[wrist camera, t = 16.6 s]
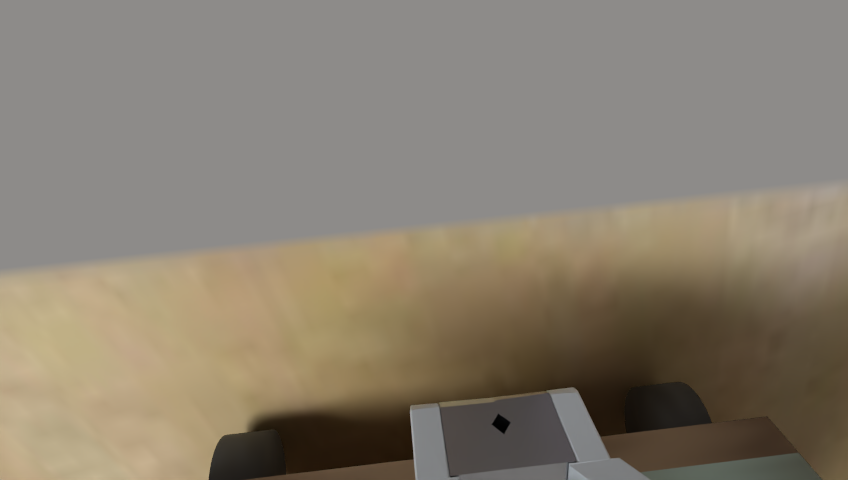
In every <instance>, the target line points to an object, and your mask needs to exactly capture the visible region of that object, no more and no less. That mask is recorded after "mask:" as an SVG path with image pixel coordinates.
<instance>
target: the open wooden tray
mask: <svg viewBox="0 0 848 480" xmlns="http://www.w3.org/2000/svg"><path fill="white" fill-rule="evenodd" d="M624 416H625V426H626V432H627V434H619V435H610V436H602V437H601V440H602V442H603V444H604V446H605V448H606V450H607V452H608V454H609V456H610V458H611V459H612V458H620V459H622V460H623V461H625V462H626V463H627V464H629V465H630V466H632V467H633V468H635V469H636V470H637V471H639V472H640V473H642V474H643V475H645V476H646V477H648V478H649V479H650V480H822V479H821V478H820V477H819V476H818V474H817V473H816V472H815V471H814V470H813V469H812V468H811V466H810V465H809V464H808V463H807V462H806V461H805V459H804V458H803V457H802V456H801V455H800V454H799V453H798V451H797V450H796V449H795V448H794V447H793V446H792V444H791V443H790V442H789V441H788V440H787V439H786V438H785V436H784V435H783V434H782V433H781V432H780V431H779V429H778V428H777V427H776V426H775V425H774V424H773V423H772V421H771V420H770V419H769V418H768V417H759V418H751V419H743V420H734V421H726V422H718V423H712V422H711V419H710V417H709V415H708V412H707V410H706V408H705V406H704V404H703V403H702V401H701V399H700V398H699V397H698V395H697V394H696V393H695V391H694V390H693V389H692V388H691V387H689V386H688V385H687V384H685V383H682V382H673V383H665V384H656V385H648V386H639V387H633V388H631V389H630V390H629V391H628V393H627V395H626V399H625V406H624ZM209 480H415V468H414V459H412V460H403V461H395V462H387V463H378V464H370V465H362V466H354V467H345V468H337V469H329V470H320V471H312V472H304V473H296V474H287V475H286V464H285V456H284V450H283V445H282V442H281V438H280V436H279V434H278V432H277V431H276V430H264V431H256V432H247V433H239V434H230V435H225V436H223V437H222V438H221V439H220V441H219V442H218V444H217V446H216V449H215V451H214V454H213V458H212V462H211V467H210V474H209Z"/></svg>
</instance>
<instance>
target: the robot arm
mask: <svg viewBox="0 0 848 480" xmlns="http://www.w3.org/2000/svg"><path fill="white" fill-rule="evenodd" d="M410 418H411V430H412V443H413V455H414V468H415V480H650V479H649V478H648V477H646V476H645V475H643V474H642V473H640V472H639V471H637V470H636V469H635V468H633V467H632V466H630V465H629V464H627V463H626V462H625V461H623V460H622V459H620V458H612V459H611V458H610V456H609V454H608V452H607V450H606V448H605V446H604V444H603V442H602V440H601V437H600V435H599V433H598V431H597V429H596V427H595V425H594V423H593V421H592V419H591V417H590V415H589V413H588V411H587V409H586V406H585V404H584V402H583V400H582V398H581V396H580V394H579V392H578V390H576V389H575V388H574V387H571V388H563V389H555V390H547V391H546V392H545V391H540V392H532V393H524V394H516V395H507V396H499V397H492V398H482V399H471V400H459V401H448V402H439V405H438V403H433V404H420V405H411V407H410Z"/></svg>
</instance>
